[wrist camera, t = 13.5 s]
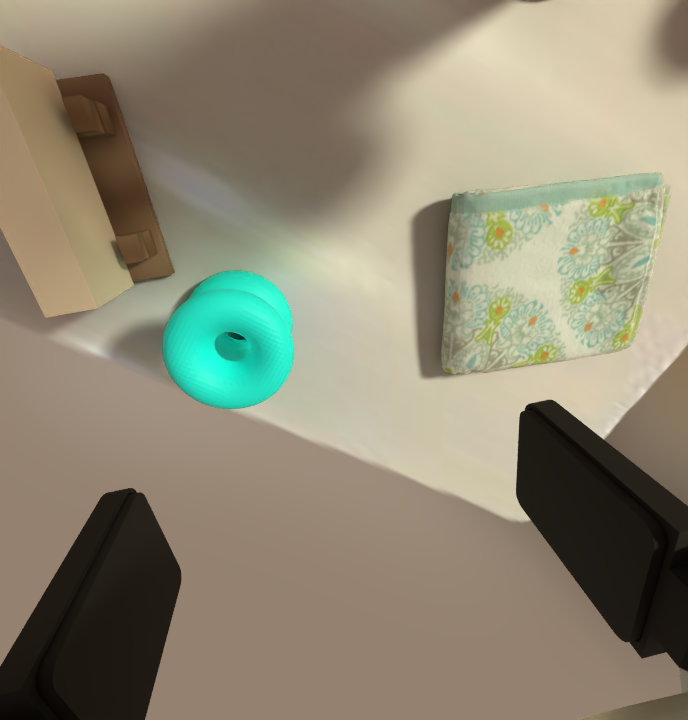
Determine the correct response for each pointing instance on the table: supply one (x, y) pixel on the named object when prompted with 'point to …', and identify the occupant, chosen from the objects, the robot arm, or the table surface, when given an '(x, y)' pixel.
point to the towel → (549, 270)
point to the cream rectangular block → (52, 197)
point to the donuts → (230, 341)
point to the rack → (116, 174)
